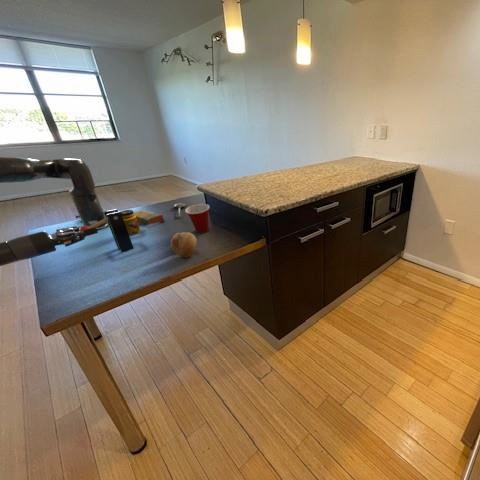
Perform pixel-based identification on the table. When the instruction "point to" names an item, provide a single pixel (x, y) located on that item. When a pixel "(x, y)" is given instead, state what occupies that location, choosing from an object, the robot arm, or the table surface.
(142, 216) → the carton
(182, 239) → the bread roll
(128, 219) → the condiment
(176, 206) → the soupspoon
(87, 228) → the tap lever
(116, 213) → the black tall block
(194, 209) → the plastic cup
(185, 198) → the table surface
